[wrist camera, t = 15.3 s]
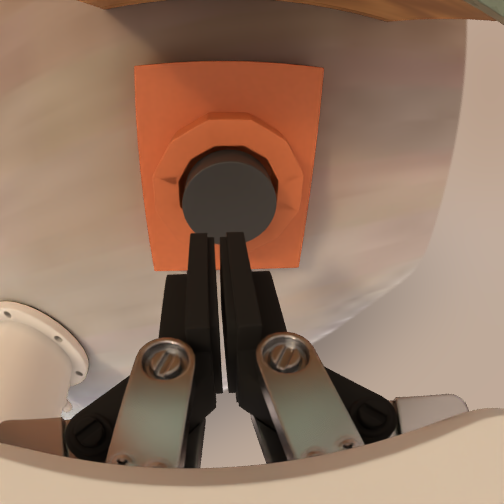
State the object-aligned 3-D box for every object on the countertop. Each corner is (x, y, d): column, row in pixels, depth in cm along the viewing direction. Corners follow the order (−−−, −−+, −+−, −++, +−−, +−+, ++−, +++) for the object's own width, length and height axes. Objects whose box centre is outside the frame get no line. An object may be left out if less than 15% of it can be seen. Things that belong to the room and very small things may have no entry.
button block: (292, 249, 21) (305, 288, 18) (158, 252, 20) (149, 293, 17) (312, 66, 14) (338, 70, 11) (143, 65, 13) (122, 67, 10)
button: (267, 225, 16) (273, 245, 14) (187, 227, 15) (185, 246, 14) (273, 149, 14) (280, 162, 12) (183, 150, 13) (179, 162, 12)
